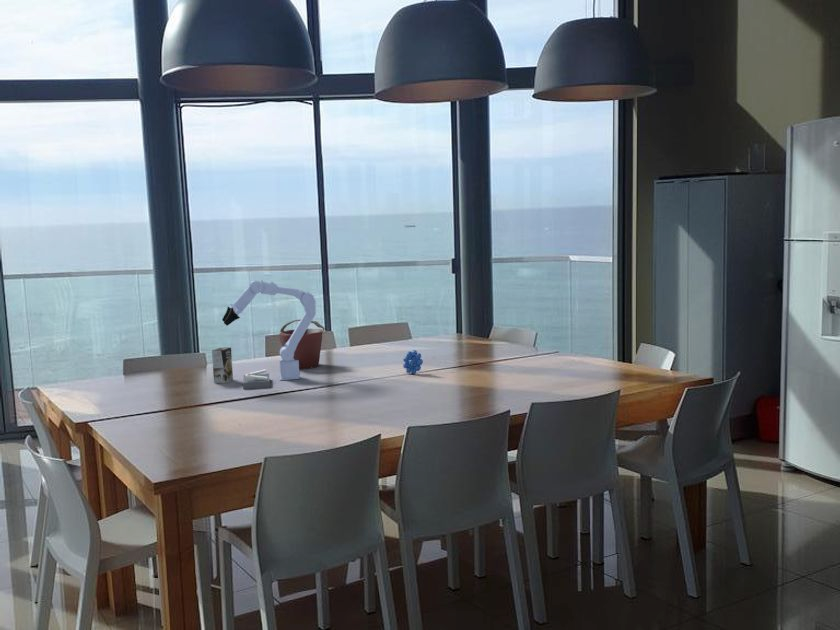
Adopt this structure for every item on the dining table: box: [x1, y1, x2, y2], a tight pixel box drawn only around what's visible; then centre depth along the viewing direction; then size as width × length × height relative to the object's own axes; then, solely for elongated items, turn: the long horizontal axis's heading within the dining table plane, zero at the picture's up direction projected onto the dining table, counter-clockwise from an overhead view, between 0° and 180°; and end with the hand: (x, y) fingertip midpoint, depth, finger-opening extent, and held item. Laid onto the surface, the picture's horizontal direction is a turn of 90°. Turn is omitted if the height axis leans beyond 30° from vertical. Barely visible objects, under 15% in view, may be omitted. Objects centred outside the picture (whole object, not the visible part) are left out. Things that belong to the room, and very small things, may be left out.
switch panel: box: [242, 372, 271, 390], centre depth 397 cm, size 12×20×3 cm, turn 11°
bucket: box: [279, 318, 325, 370], centre depth 439 cm, size 24×22×25 cm
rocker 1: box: [245, 368, 267, 375], centre depth 402 cm, size 10×3×1 cm, turn 100°
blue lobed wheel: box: [402, 349, 424, 375], centre depth 408 cm, size 12×7×12 cm, turn 55°
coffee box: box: [211, 347, 234, 384], centre depth 407 cm, size 9×6×16 cm
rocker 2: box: [245, 374, 267, 380], centre depth 391 cm, size 10×3×1 cm, turn 101°
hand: (224, 322), depth 398 cm, fingers open, 7 cm apart
